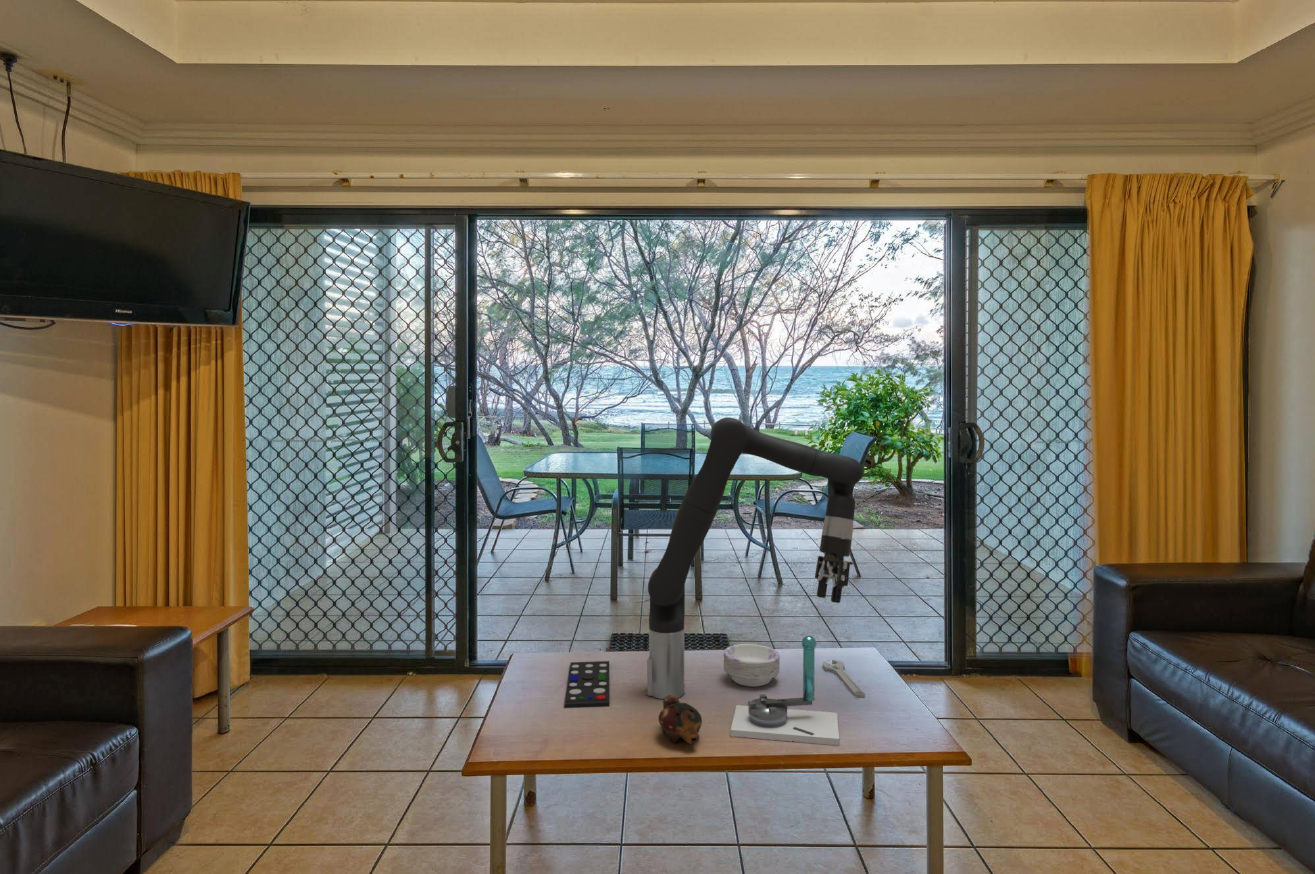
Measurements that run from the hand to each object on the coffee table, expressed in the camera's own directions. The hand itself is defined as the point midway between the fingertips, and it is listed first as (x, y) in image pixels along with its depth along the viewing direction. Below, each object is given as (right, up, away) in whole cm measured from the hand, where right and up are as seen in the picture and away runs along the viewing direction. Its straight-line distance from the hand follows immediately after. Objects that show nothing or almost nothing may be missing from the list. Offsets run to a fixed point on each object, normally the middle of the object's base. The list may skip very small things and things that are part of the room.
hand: (828, 599), depth 186 cm
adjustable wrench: (+7, -26, +16) cm, 31 cm away
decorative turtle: (-38, -27, -19) cm, 50 cm away
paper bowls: (-17, -26, +16) cm, 35 cm away
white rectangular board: (-13, -27, -14) cm, 33 cm away
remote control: (-62, -27, +14) cm, 69 cm away
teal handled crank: (-14, -25, -12) cm, 31 cm away
